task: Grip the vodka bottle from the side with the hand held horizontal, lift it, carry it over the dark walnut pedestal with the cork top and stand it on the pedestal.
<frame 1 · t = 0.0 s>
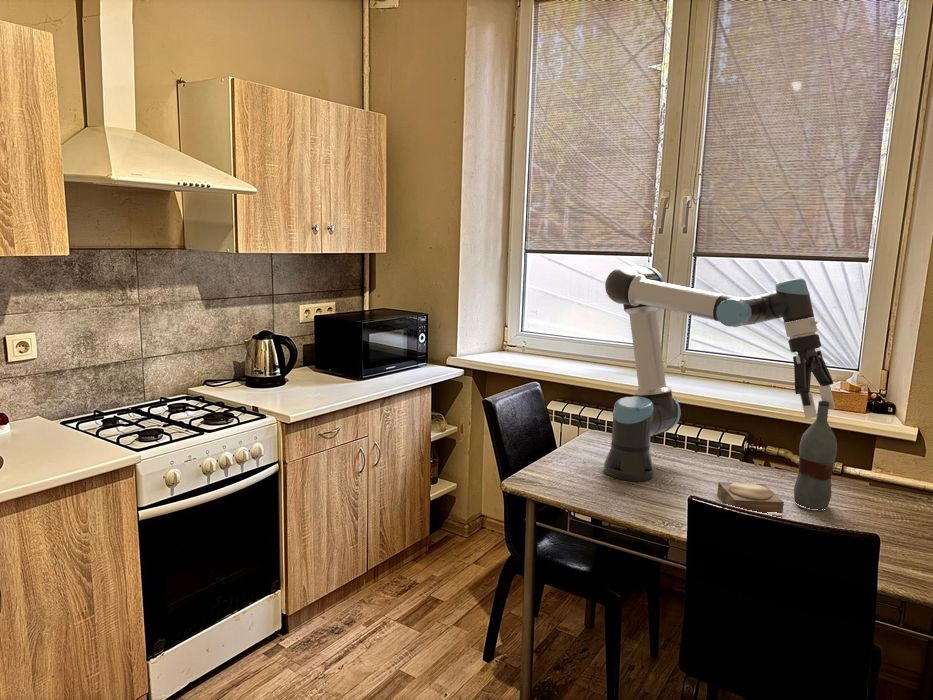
hand: (820, 413, 176), 28 cm above the table, tool tilted 20°, fingers open, 13 cm apart
vodka: (810, 506, 186), on the table, touching gripper
pedestal: (748, 505, 184), on the table
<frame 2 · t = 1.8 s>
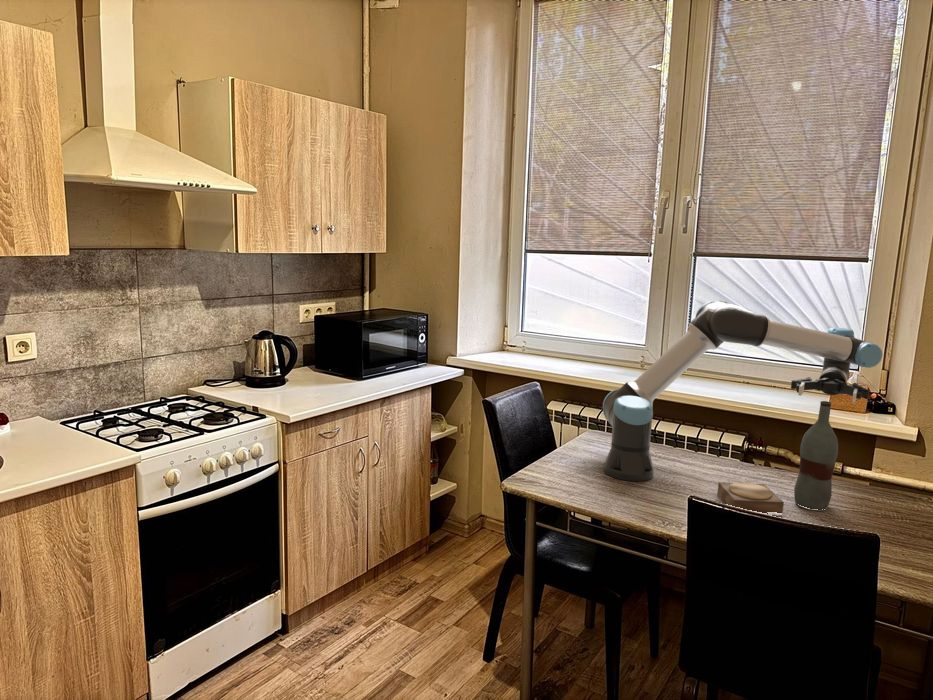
hand: (826, 394, 188), 30 cm above the table, tool horizontal, fingers open, 13 cm apart
vodka: (810, 505, 186), on the table
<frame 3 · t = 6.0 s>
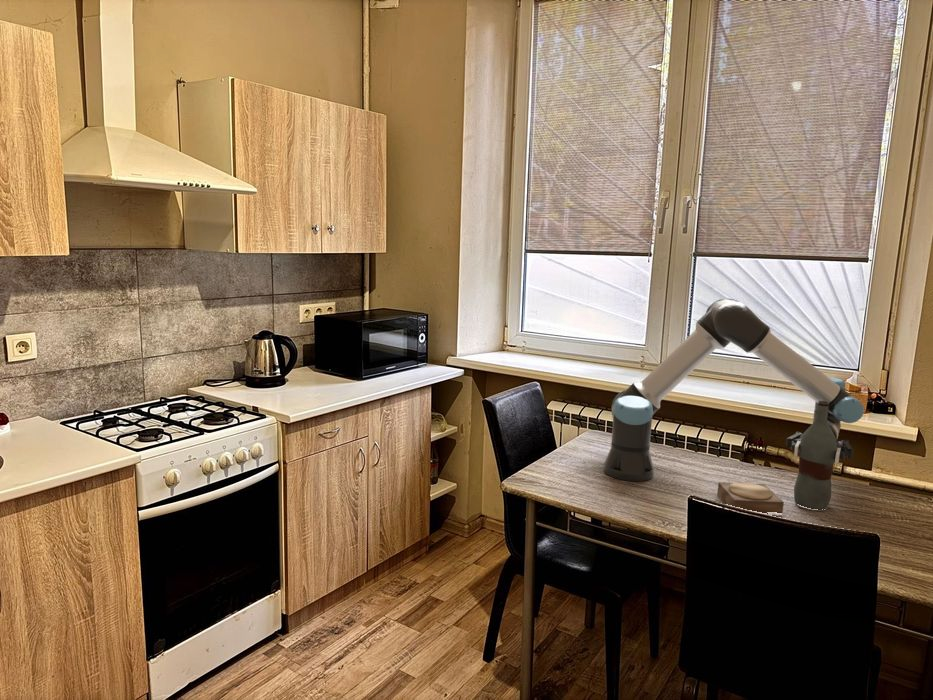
hand: (816, 455, 179), 16 cm above the table, tool horizontal, fingers closed on vodka, 9 cm apart
vodka: (810, 505, 186), on the table, touching gripper
when the fingers open (22 cm above the table, at t = 11.2 s): vodka drops 1 cm, resting on pedestal.
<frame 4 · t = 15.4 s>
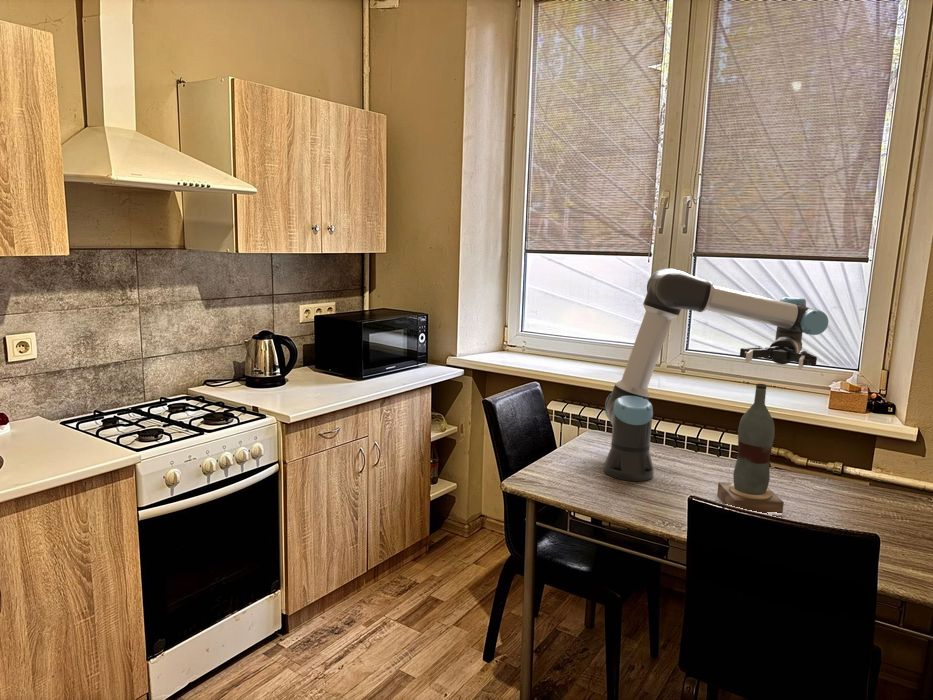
hand: (773, 360, 184), 40 cm above the table, tool horizontal, fingers open, 13 cm apart
vodka: (749, 490, 184), point 4 cm above the table, touching pedestal
at the end: vodka inside the target area on the pedestal (0.1 cm from its centre), point 4.4 cm above the pedestal's base; vodka tilted 0°; the gripper is holding nothing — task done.
